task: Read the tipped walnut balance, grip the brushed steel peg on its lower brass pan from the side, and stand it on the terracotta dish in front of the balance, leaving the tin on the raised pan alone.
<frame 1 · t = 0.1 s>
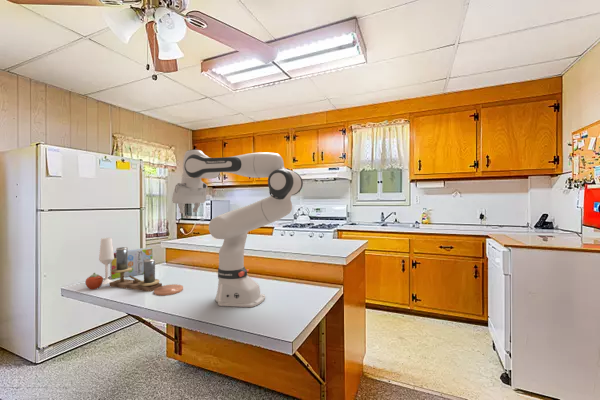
hand: (188, 212, 137), 39 cm above the countertop, tool pointing down, fingers open, 8 cm apart
tomato: (94, 288, 145), on the countertop
champagne flute: (106, 282, 154), on the countertop
balance: (135, 286, 147), on the countertop
dish: (168, 290, 141), on the countertop
brushed steel peg: (149, 281, 144), point 3 cm above the countertop, touching balance
snack box: (132, 275, 170), on the countertop
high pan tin: (122, 269, 150), point 8 cm above the countertop, touching balance
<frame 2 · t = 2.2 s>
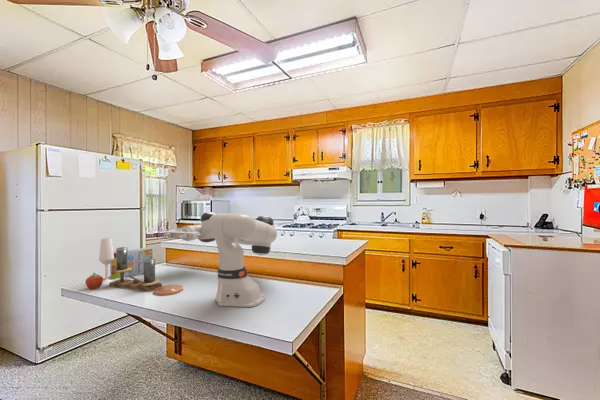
hand: (172, 236, 159), 24 cm above the countertop, tool horizontal, fingers open, 8 cm apart
nothing on the countertop moved.
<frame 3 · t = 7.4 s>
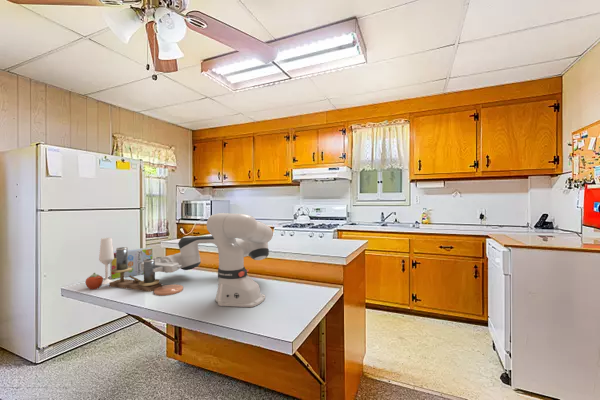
hand: (148, 270, 143), 10 cm above the countertop, tool horizontal, fingers closed on brushed steel peg, 5 cm apart
brushed steel peg: (149, 281, 144), point 3 cm above the countertop, touching balance, gripper
everything else where it was.
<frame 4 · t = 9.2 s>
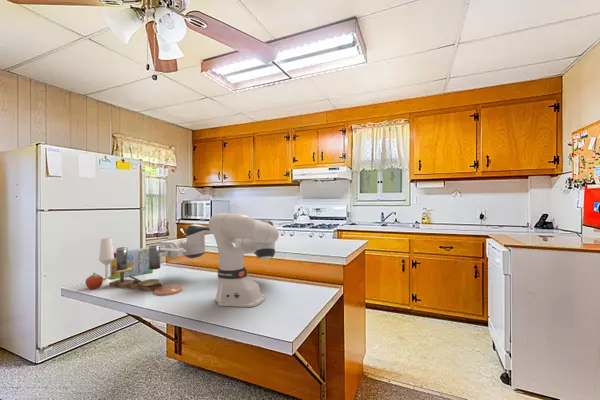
hand: (153, 254, 142), 18 cm above the countertop, tool horizontal, fingers closed on brushed steel peg, 5 cm apart
brushed steel peg: (154, 268, 143), point 11 cm above the countertop, touching gripper
everything else where it was.
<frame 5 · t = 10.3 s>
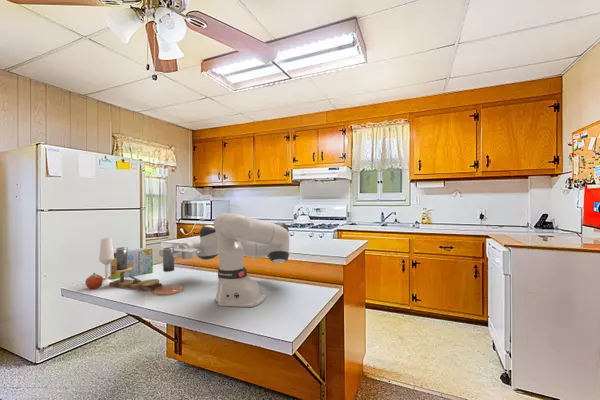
hand: (167, 255, 140), 18 cm above the countertop, tool horizontal, fingers closed on brushed steel peg, 5 cm apart
brushed steel peg: (168, 270, 141), point 10 cm above the countertop, touching gripper
everything else where it was.
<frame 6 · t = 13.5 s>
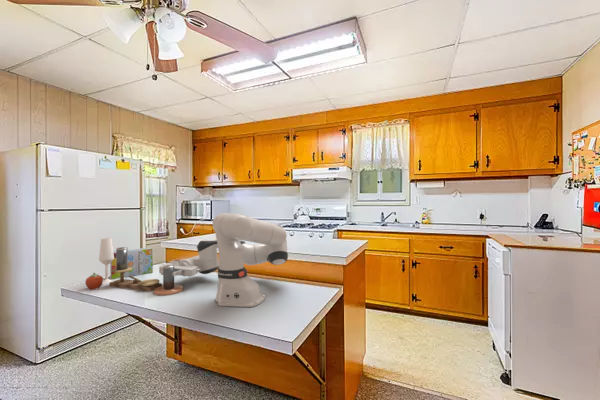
hand: (167, 273, 140), 9 cm above the countertop, tool horizontal, fingers closed on brushed steel peg, 5 cm apart
brushed steel peg: (168, 288, 141), point 1 cm above the countertop, touching dish, gripper
everything else where it was.
when the fingers open (9 cm above the countertop, at t = 13.5 s): brushed steel peg stays where it is, resting on dish.
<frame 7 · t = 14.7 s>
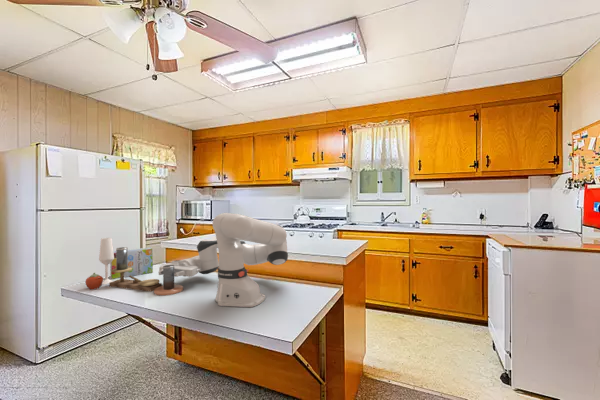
hand: (167, 274, 140), 9 cm above the countertop, tool horizontal, fingers open, 8 cm apart
brushed steel peg: (168, 288, 141), point 1 cm above the countertop, touching dish
everything else where it was.
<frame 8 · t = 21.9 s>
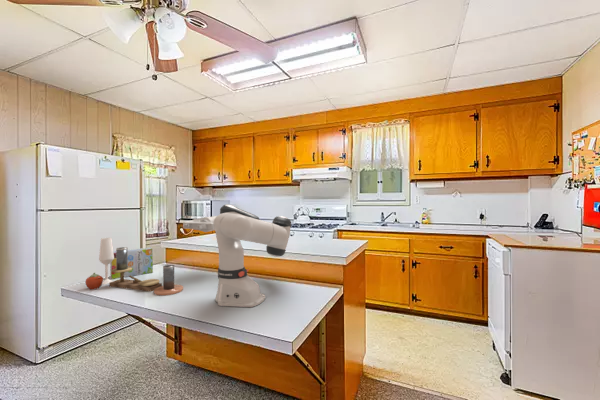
hand: (191, 226, 157), 30 cm above the countertop, tool horizontal, fingers open, 8 cm apart
nothing on the countertop moved.
at the end: brushed steel peg inside the target area on the dish (0.3 cm from its centre), point 1.3 cm above the dish's base; brushed steel peg tilted 0°; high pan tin moved 0.0 cm from its start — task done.
